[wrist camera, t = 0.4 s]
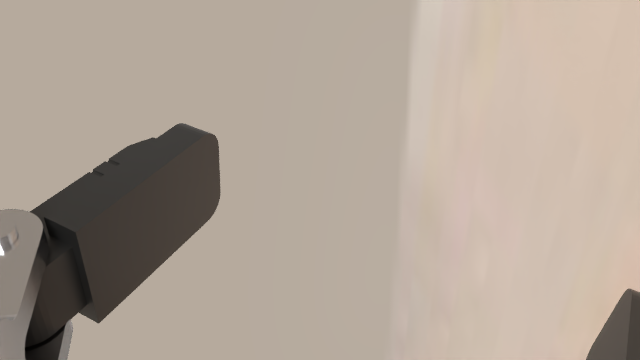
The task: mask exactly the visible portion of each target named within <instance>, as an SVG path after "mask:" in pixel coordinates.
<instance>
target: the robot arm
mask: <svg viewBox="0 0 640 360" xmlns="http://www.w3.org/2000/svg"><path fill="white" fill-rule="evenodd" d="M219 199H220V171H219V146H218V140H217V138H216V136H215V135H213V134H211V133H208V132H205V131H203V130H200V129H197V128H194V127H192V126H189V125H187V124H183V123H181V124H177V125H175V126H174V127H172V128H171V129H169V130H168V131H167V132H165V133H164V134H163V135H161V136H159V137H158V138H151V139H148V140H144V141H141V142H138V143H135V144H133V145H130V146H127V147H126V148H125V149H123V150H121V151H120V152H118V153H117V154H115V155H114V156H113V157H111V158H109V161H108V162H104V163H102V164H101V165H99V166H98V167H96V168H95V169H93V172H92V173H90V172H89V173H87V174H86V175H84V176H83V177H81V178H80V179H78V180H77V181H75V182H74V183H72V184H71V185H69V186H68V187H66V188H65V189H63V190H62V191H60V192H59V193H57V194H56V195H54V196H53V197H51V198H50V199H48V200H47V201H45V202H44V203H42V204H41V205H40V206H38V207H36V208H35V209H33V210H32V211H30V212H28V211H24V210H18V209H6V210H0V360H67V357H68V352H69V348H70V343H71V338H72V332H73V327H72V322H71V319H72V317H74V316H75V315H76V314H77V313H78V312H79V313H81V314H82V315H84V316H86V317H88V318H90V319H92V320H93V321H95V322H97V323H100V322H101V321H102V320H103V319H104V318H105V317H106V316H107V315H108V314H109V313H110V312H111V311H113V310H114V308H116V307H117V306H118V305H119V304H120V303H121V302H122V301H123V300H124V299H125V298H126V297H127V296H129V295H130V294H131V293H132V292H133V291H134V290H135V289H136V288H137V287H138V286H139V285H140V284H141V283H142V282H143V281H144V280H146V279H147V278H148V276H150V275H151V274H152V273H153V272H154V271H155V270H156V269H157V268H158V267H159V266H160V265H161V264H162V263H164V262H165V261H166V260H167V259H168V258H169V257H170V256H171V255H172V254H173V253H174V252H175V251H176V250H177V249H178V248H179V247H181V246H182V244H184V243H185V242H186V241H187V240H188V239H189V238H190V237H191V236H192V235H193V234H194V233H195V232H197V231H198V230H199V228H201V227H202V226H203V225H204V224H205V223H206V222H207V221H208V220H209V219H210V218H211V216H212V215H213V214H214V212H215V210H216V208H217V205H218V202H219ZM586 360H640V292H637V291H635V290H632V289H627V290H626V291H625V292H624V294H623V295H622V297H621V298H620V300H619V302H618V303H617V305H616V307H615V308H614V310H613V312H612V313H611V315H610V317H609V318H608V320H607V322H606V323H605V325H604V327H603V328H602V330H601V332H600V333H599V335H598V337H597V338H596V340H595V342H594V343H593V345H592V347H591V349H590V351H589V354H588V356H587V358H586Z"/></svg>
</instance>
